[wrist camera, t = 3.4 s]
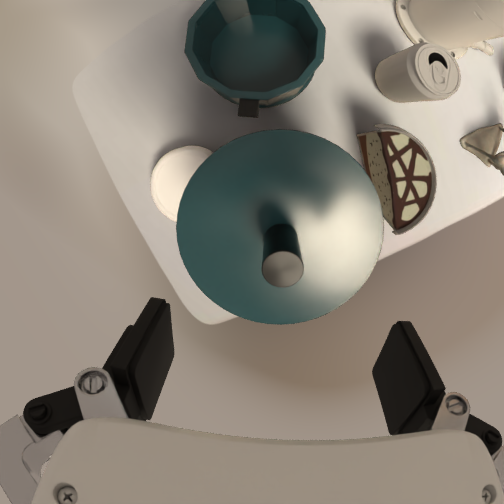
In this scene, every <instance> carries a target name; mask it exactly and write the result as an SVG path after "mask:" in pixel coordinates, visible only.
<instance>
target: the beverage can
mask: <svg viewBox="0 0 504 504" xmlns="http://www.w3.org/2000/svg"><path fill="white" fill-rule="evenodd" d="M375 79H376V83H377V86H378V88H379V90H380V91H381V92H382V94H383V95H384V96H386V97H387V98H388V99H390V100H392V101H394V102H398V103H405V102H418V101H436V100H445V99H447V98H449V97H450V96H451V95H453V94H454V93H455V92H456V91H457V90H458V88H459V86H460V81H461V75H460V70H459V67H458V64H457V62H456V60H455V59H454V57H453V56H452V55H451V54H450V53H449V52H448V51H447V50H446V49H445V48H443V47H442V46H440V45H437V44H432V43H426V42H422V43H418V44H415V45H413V46H411V47H409V48H407V49H405V50H402V51H400V52H398V53H396V54H394V55H392V56H390V57H388V58H386V59H384V60H382V61H381V62H380V63H379V64H378V66H377V68H376V71H375Z"/></svg>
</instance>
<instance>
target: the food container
mask: <svg viewBox="0 0 504 504" xmlns="http://www.w3.org/2000/svg"><path fill="white" fill-rule="evenodd" d="M374 126H375V127H377V128H378V129H379V130H376V131H372V132H367V133H363V134H358V135H357V139H358V143H359V147H360V152H361V156H362V161H363V166H364V170H365V172H366V173H367V174H368V176H369V178H370V179H371V181H372V183H373V185H374V187H375V189H376V191H377V194H378V196H379V199H380V203H381V207H382V212H383V217H384V219H385V220H386V221H387V222H388V223H389V225H390V226H391V227H392V228H393V230H394V231H392V233H394V234H395V235H400V234H403V233H406V232H407V231H409V230H411V229H413V228H414V227H415V226H417V225H418V224H419V223H420V222H421V221H422V220H423V219H424V217H425V216H426V215H427V213H428V212H429V210H430V208H431V206H432V203H433V201H434V198H435V193H436V186H437V179H436V171H435V167H434V164H433V161H432V158H431V156H430V154H429V152H428V151H427V149H426V148H425V146H424V145H423V144H422V143H421V142H420V141H419V140H418V139H417V138H416V137H414V136H413V135H412V134H410V133H409V132H407V131H406V130H403V129H401V128H399V127H396V126H393V125H387V124H375V125H374Z"/></svg>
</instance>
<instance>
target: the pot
mask: <svg viewBox="0 0 504 504" xmlns="http://www.w3.org/2000/svg"><path fill="white" fill-rule="evenodd" d="M325 33H326V30H325V27H324V25H323V23H322V22H321V20H320V18H319V17H318V15H317V13H316V12H315V10H314V8H313V7H312V5H311V4H310V2H308V1H307V0H206V1H205V2H204V3H203V4H202V5H201V7H200V8H199V9H198V10H197V11H196V13H195V14H194V15H193V16H192V17H191V19H190V20H189V22H188V28H187V35H186V43H185V54H186V56H187V58H188V60H189V61H190V63H191V65H192V67H193V69H194V71H195V73H196V75H197V77H198V79H199V80H200V81H202V82H204V83H206V84H207V85H209V86H211V87H212V88H213V89H214V90H215V91H216V92H217V93H218V94H220V95H221V96H222V97H224V98H225V99H227V100H229V101H231V102H233V103H235V104H238V105H239V108H238V116H240V117H253V118H258V114H259V108H269V107H274V106H278V105H281V104H284V103H286V102H288V101H290V100H291V99H293V98H295V97H296V96H297V95H299V94H300V93H301V92H302V91H303V90H304V89H305V88H306V87H307V85H308V84H309V82H310V81H311V79H312V77H313V75H314V72H315V70H316V69H317V68H318V67H319V65H320V64H321V63H322V62H323V60H324V47H325Z"/></svg>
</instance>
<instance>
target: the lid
mask: <svg viewBox="0 0 504 504" xmlns="http://www.w3.org/2000/svg"><path fill="white" fill-rule="evenodd" d="M176 231H177V242H178V246H179V251H180V255H181V257H182V260H183V263H184V265H185V267H186V269H187V271H188V273H189V275H190V276H191V278H192V279H193V281H194V282H195V284H196V285H197V286H198V287H199V288H200V290H201V291H202V292H203V293H204V294H205V295H206V296H207V297H208V298H210V299H211V300H212V301H213V302H214V303H216V304H217V305H219V306H220V307H222V308H223V309H225V310H227V311H228V312H230V313H232V314H234V315H237V316H239V317H242V318H244V319H247V320H251V321H255V322H260V323H266V324H294V323H300V322H305V321H309V320H312V319H316V318H318V317H321V316H323V315H326V314H328V313H330V312H331V311H333V310H335V309H337V308H338V307H340V306H341V305H343V304H344V303H345V302H347V301H348V300H349V299H350V298H351V297H352V296H353V295H355V294H356V293H357V292H358V291H359V289H360V288H361V287H362V286H363V285H364V284H365V282H366V280H367V279H368V278H369V276H370V275H371V273H372V271H373V269H374V267H375V265H376V263H377V260H378V257H379V254H380V251H381V246H382V241H383V231H384V222H383V212H382V207H381V203H380V199H379V196H378V194H377V191H376V189H375V187H374V185H373V183H372V181H371V179H370V178H369V176H368V174H367V173H366V172H365V170H364V169H363V168H362V167H361V165H360V164H359V163H358V162H357V161H356V160H355V159H354V158H353V157H352V156H351V155H350V154H348V153H347V152H346V151H344V150H343V149H342V148H340V147H339V146H337V145H336V144H334V143H332V142H330V141H328V140H326V139H324V138H321V137H319V136H316V135H313V134H310V133H306V132H301V131H296V130H283V129H276V130H264V131H260V132H255V133H251V134H248V135H245V136H242V137H240V138H237V139H235V140H233V141H231V142H229V143H227V144H225V145H224V146H222V147H220V148H219V149H218V150H216V151H215V152H214V153H212V154H211V155H210V156H209V157H208V158H207V159H206V160H205V161H204V162H203V163H202V164H201V165H200V166H199V167H198V168H197V170H196V171H195V173H194V174H193V175H192V177H191V178H190V180H189V182H188V184H187V186H186V187H185V189H184V192H183V195H182V197H181V200H180V204H179V208H178V213H177V225H176Z"/></svg>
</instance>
